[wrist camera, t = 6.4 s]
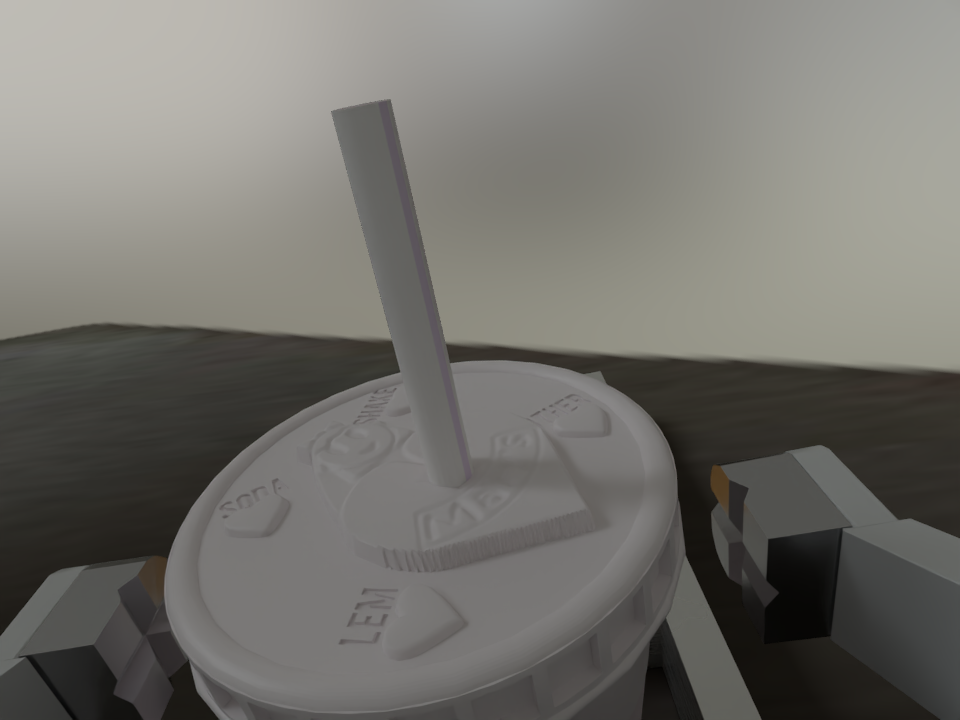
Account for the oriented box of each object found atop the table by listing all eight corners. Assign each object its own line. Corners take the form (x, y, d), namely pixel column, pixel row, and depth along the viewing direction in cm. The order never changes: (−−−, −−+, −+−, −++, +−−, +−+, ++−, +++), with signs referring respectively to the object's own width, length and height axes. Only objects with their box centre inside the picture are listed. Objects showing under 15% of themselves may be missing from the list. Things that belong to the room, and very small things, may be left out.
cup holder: (199, 1355, 8) (115, 1315, 7) (377, 463, 26) (361, 412, 24) (956, 1278, 7) (995, 1224, 6) (605, 424, 25) (600, 371, 24)
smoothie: (616, 1267, 8) (247, 173, 2) (297, 943, 12) (-180, 214, 6) (742, 797, 12) (753, 24, 6) (483, 669, 16) (333, 100, 10)
